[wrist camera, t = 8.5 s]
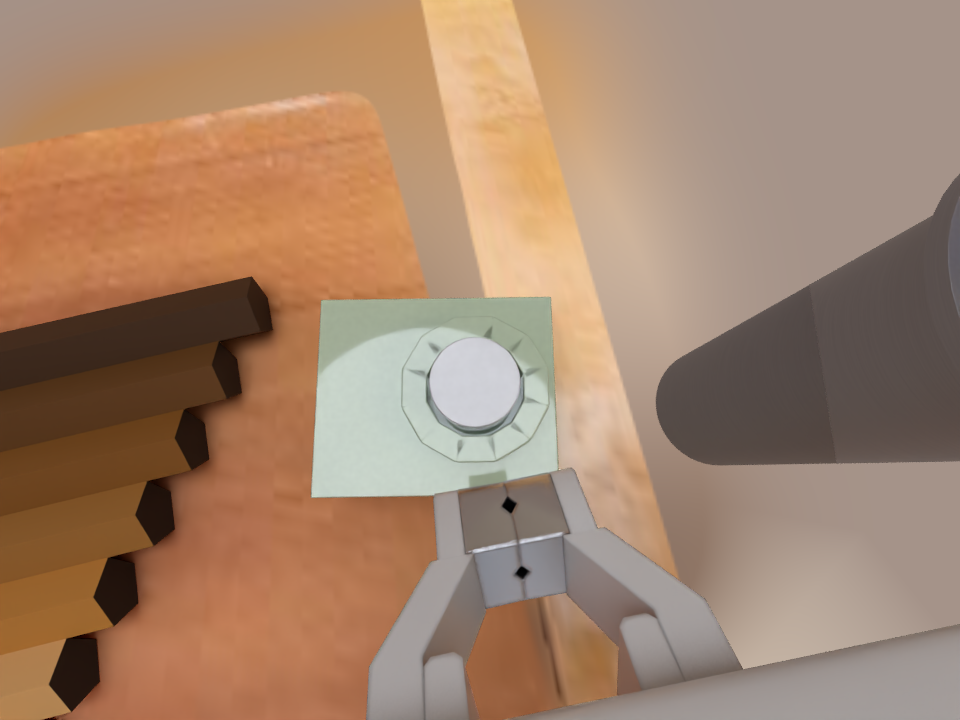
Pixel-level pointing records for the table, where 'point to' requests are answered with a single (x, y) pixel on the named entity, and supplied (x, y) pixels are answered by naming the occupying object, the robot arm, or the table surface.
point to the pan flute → (98, 470)
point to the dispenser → (425, 397)
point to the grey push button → (474, 383)
